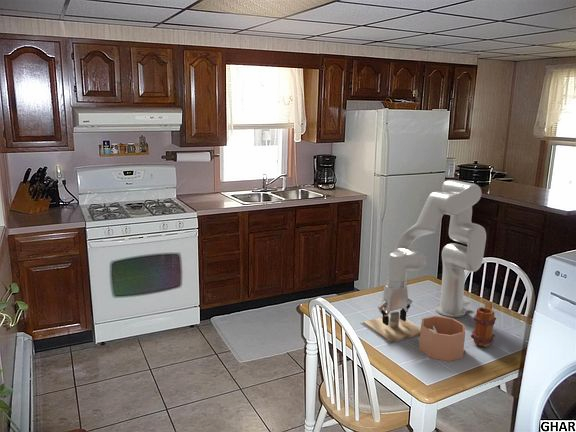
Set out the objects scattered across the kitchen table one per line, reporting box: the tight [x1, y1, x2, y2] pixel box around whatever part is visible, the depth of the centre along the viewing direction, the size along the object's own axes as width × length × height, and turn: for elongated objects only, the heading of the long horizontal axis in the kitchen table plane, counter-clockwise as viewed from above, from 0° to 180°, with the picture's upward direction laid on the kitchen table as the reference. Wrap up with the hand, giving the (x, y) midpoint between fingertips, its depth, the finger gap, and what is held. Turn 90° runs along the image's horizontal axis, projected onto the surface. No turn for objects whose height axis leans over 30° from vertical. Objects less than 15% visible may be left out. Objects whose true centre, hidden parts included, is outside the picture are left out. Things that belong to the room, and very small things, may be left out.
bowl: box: [418, 315, 466, 362], centre depth 177 cm, size 16×16×10 cm
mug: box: [470, 301, 497, 347], centre depth 183 cm, size 15×8×15 cm, turn 148°
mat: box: [360, 321, 420, 345], centre depth 194 cm, size 20×20×1 cm
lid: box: [362, 310, 421, 343], centre depth 194 cm, size 18×18×7 cm
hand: (394, 321), depth 194 cm, fingers open, 8 cm apart
